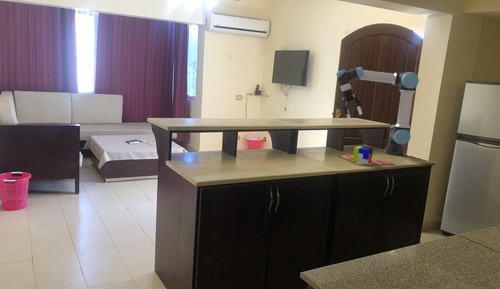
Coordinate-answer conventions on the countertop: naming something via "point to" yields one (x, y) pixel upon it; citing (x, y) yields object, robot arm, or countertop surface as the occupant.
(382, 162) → the board
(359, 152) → the puzzle toy
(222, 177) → the countertop surface
